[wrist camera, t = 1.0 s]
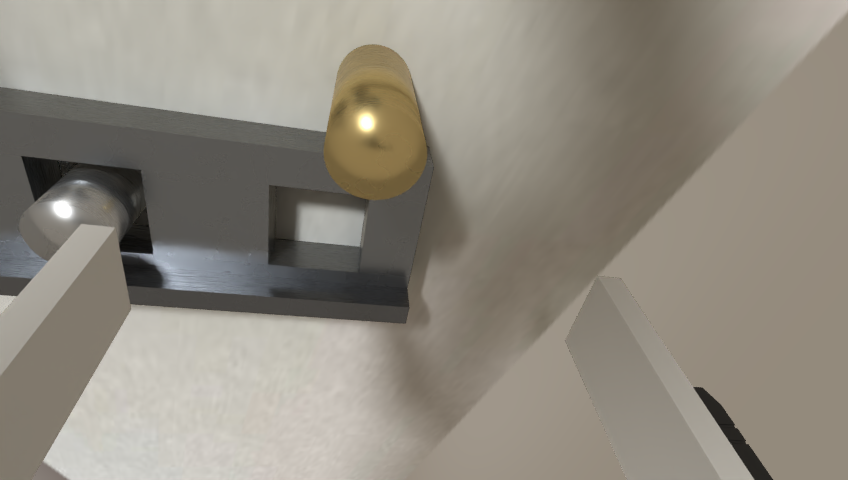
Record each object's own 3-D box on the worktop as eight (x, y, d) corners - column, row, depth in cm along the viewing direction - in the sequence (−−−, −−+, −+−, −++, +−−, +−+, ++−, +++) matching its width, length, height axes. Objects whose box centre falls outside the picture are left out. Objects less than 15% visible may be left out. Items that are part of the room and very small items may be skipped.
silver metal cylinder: (69, 148, 29) (8, 197, 25) (147, 157, 30) (104, 207, 25) (83, 209, 32) (31, 265, 27) (155, 216, 33) (118, 272, 28)
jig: (-31, 82, 27) (-103, 115, 23) (428, 146, 31) (437, 183, 27) (22, 244, 33) (-27, 293, 29) (401, 277, 38) (405, 323, 33)
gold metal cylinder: (340, 38, 27) (327, 97, 19) (417, 51, 28) (436, 113, 20) (333, 113, 30) (320, 194, 22) (404, 123, 30) (417, 205, 22)
